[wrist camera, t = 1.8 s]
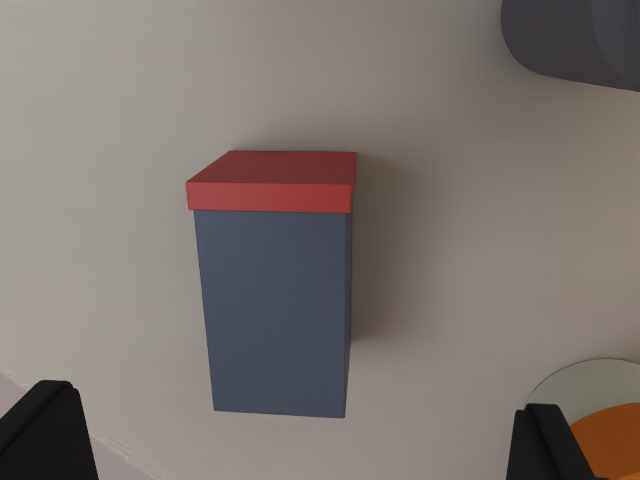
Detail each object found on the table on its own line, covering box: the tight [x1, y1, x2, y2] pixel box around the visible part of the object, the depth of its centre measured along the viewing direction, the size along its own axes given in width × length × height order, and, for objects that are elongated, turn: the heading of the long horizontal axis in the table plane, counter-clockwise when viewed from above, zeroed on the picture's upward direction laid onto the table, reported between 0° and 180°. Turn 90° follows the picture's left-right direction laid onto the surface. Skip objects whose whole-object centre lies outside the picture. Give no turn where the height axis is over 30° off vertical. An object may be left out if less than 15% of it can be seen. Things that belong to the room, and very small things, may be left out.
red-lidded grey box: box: [186, 151, 356, 418], centre depth 25 cm, size 12×7×7 cm, turn 1°
